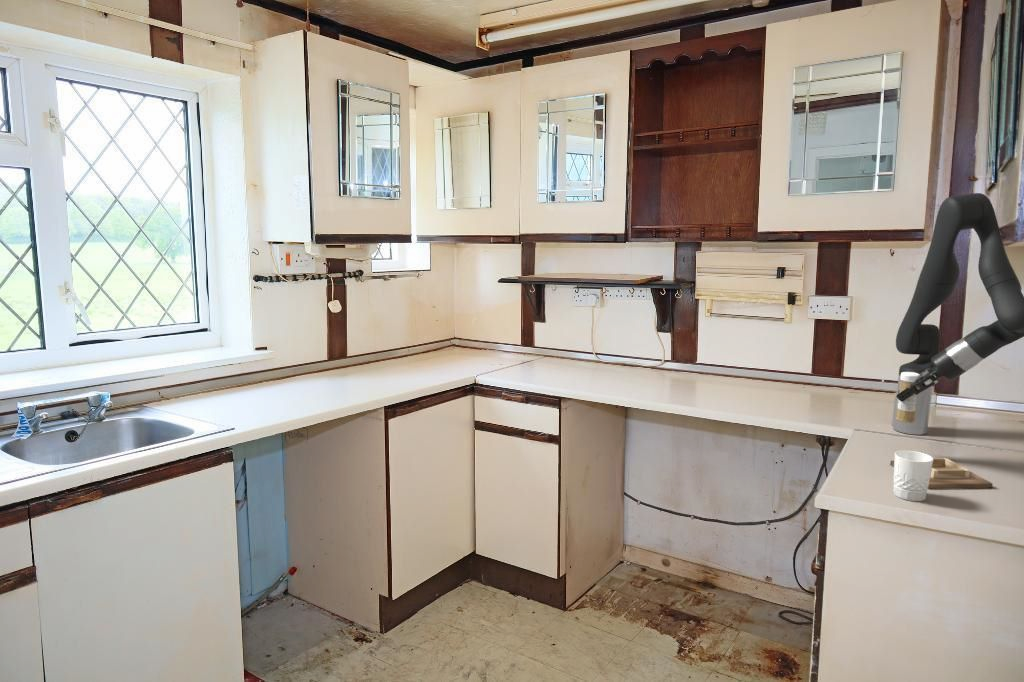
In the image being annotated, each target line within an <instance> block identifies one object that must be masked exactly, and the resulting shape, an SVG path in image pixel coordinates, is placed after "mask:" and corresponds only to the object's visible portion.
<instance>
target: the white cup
mask: <svg viewBox="0 0 1024 682" xmlns="http://www.w3.org/2000/svg"><path fill="white" fill-rule="evenodd" d="M933 458H934V457H932V456H931V455H929V454H926V453H923V452H920V451H916V450H904V449H903V450H897V451H895V452H894V459H893V461H894V467H893V479H892V480H893V488H892V489H893V490H892V491H893V492H892V493H893V494H894V496H895V497H897V498H899V499H900V500H901V499H902V500H905V501H910V502H923V501H926V499H927V495H928V494H927V493H928V490H929V489H928V486H929V482H930V476H931V470H932V465H933Z"/></svg>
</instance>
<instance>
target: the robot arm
mask: <svg viewBox="0 0 1024 682" xmlns="http://www.w3.org/2000/svg"><path fill="white" fill-rule="evenodd" d="M972 229H973V230H974V231H975V234H976V235H977V237H978V239H979V242H980V250H979V251H980V253H979V258H978V264H977V265H978V266H977V267H978V268H977V269H978V274H979V277H980V280H981V283H982V285H983V286H984V288H985V291H986V292H987V295H988V296H989V298H990V300H991V304H992V307H993V311H994V314H995V317H996V319H997V320H995V321H993V322H992V323H990V324H988V325H983V326H980V327H978V328H976V329H974V330H972V332H969V333H968V334H967V335H965V336H964V337H962V338H960V339H958V340H957V341H955V342H953V343H952V344H949V345H948V346H947V347H946V348H944V349H942V350H941V351H940V347H941V340H942V337H941V329H940V328H939V326H937V325H935V324H931V323H930V324H929V323H928V324H925V323H923V321H924V320H925V319H926V318H927V316H929V315H930V314H931V313H932V312H933V311H935V310H936V309H937V308H939V307H940V306H941V305H943V303H945V302H947V300H948V299H950V297H951V296H952V294H953V293H954V290H955V288H956V285H957V282H958V281H959V277H960V272H961V271H960V265H959V263H958V260H957V257H956V254H955V249H954V247H955V244H956V241H957V237H958V235H959V233H960V232H961V231H965V230H972ZM1004 245H1005V244H1004V241H1003V238H1002V234H1001V230H1000V225H999V222H998V219H997V216H996V212H995V208H994V207H993V203H992V202H991V200H990V198H989V197H988V196H987V195H986V194H983V193H981V192H976V193H967V194H966V193H965V194H960V195H959V194H958V195H951V196H949V197H947V198H945V199H944V200H943V201H942V202H941V204H940V206H939V208H938V211H937V215H936V217H935V223H934V228H933V231H932V236H931V241H930V245H929V248H928V251H927V253H926V254H927V255H926V258H925V260H924V263H923V265H922V269H921V270H920V274H919V277H918V279H917V282H916V285H915V289H914V293H913V295H912V298H911V302H910V304H909V306H908V308H907V311H906V313H905V315H904V317H903V319H902V321H901V323H900V325H899V327H898V330H897V333H896V338H895V347H896V350H897V351H898V352H899V353H900V354H904V355H917V358H916V359H914V360H912V361H909V362H906V363H904V364H902V365H900V367H899V369H898V377H897V378H898V379H897V387H896V396H895V397H894V404H893V412H892V413H893V414H892V420H891V422H892V423H891V426H892V428H893V430H894V431H896V432H899V433H902V434H909V435H918V436H919V435H920V436H921V435H926V434H928V429H929V421H930V420H929V419H930V414H931V413H930V411H931V405H932V404H931V403H932V397H933V396H932V395H933V386H935V385H936V384H938V383H939V382H940V379H941V377H945V378H946V379H947V380H948V381H954V380H956V379H957V378H959V377H961V376H962V375H963V374H965V373H966V372H968V371H970V370H971V369H973V368H974V367H975V366H977V365H978V364H979V363H981V362H983V360H985V359H987V358H988V357H989V356H991V355H993V354H994V353H996V352H997V351H999V350H1000V349H1002V348H1003V347H1005V346H1007V345H1010V344H1012V343H1014V342H1016V341H1018V340H1021V339H1022V338H1023V337H1024V294H1023V292H1022V285H1021V283H1020V280H1019V278H1018V277H1017V276H1018V275H1017V274H1016V272H1015V270H1014V268H1013V266H1012V265H1011V264H1012V263H1011V262H1010V259H1009V257H1008V254H1007V252H1006V249H1005V246H1004ZM902 372H914V373H918V374H920V376H919V377H918V378H917V379H915V382H914V383H913V384H912V385H910V386H909V387H908V388H906V389H905V390H903V391H902V392H900V384H901V379H900V377H901V373H902ZM919 380H920V381H919ZM915 386H918V390H917V388H916V387H915ZM899 392H900V393H899ZM912 395H917V404H916V411H915V418H914V419H915V421H914V422H912V423H905V422H901V421H898V420H897V419H896V417H897V411H898V399H899V400H900V401H901V402H903V401H904V400H906V399H907V398H909V397H910V396H912Z"/></svg>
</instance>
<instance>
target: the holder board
mask: <svg viewBox="0 0 1024 682" xmlns="http://www.w3.org/2000/svg"><path fill="white" fill-rule="evenodd" d="M932 458H933V465H932V470H931V476H930V482H929V486H928V489H927V490H936V489H940V490H943V488H944V490H945V488H947V490H949V489H948V488H950V489H951V488H962V489H989V488H988V487H992V488H993V483H992V482H991V481H989V480H987V479H985V478H983V477H982V476H980V475H978V474H975V473H974V472H972V471H971V470H969V469H968V468H966V467H964V466H962V465H960V464H958V463H957V462H954V461H953V460H951V459H949V458H947V457H932ZM889 466H891V467H892V468H894V460H890V465H889ZM931 488H932V489H931ZM934 488H936V489H934Z"/></svg>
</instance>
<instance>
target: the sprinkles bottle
mask: <svg viewBox="0 0 1024 682" xmlns="http://www.w3.org/2000/svg"><path fill="white" fill-rule="evenodd" d="M919 376H920V374H918V373H914V372H902V373H901V377H900V379H901V384H900V392H902V391H903V390H905V389H906V388H908V387H909V386H910V385H912V384H913V383H914V382H915V379H917V378H918V377H919ZM919 381H920V380H919ZM915 387H916V388H917V390H918V386H915ZM900 392H899V393H900ZM916 404H917V395H912V396H910V397H909V398H907V399H906V400H904V401H903V402H901V401H900V400H899V399H898V411H897V417H896V419H897V420H898V421H901V422H905V423H912V422H914V421H915V419H914V418H915V411H916Z"/></svg>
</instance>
